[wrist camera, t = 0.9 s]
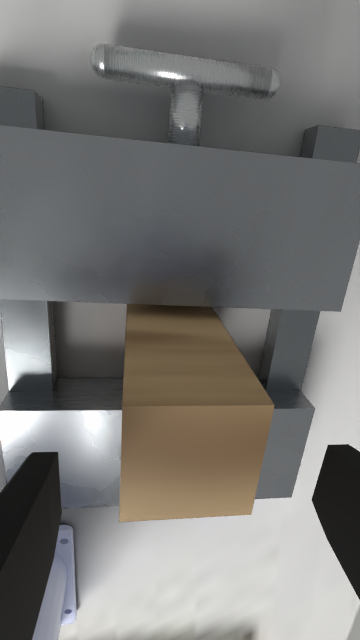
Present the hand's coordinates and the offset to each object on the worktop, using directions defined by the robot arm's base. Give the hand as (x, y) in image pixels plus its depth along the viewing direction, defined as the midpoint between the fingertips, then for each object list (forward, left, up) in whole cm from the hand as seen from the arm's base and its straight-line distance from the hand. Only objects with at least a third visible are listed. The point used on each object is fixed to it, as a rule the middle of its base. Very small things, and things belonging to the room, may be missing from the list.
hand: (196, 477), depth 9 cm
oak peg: (0, 0, -9) cm, 9 cm away
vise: (0, 0, -9) cm, 9 cm away
